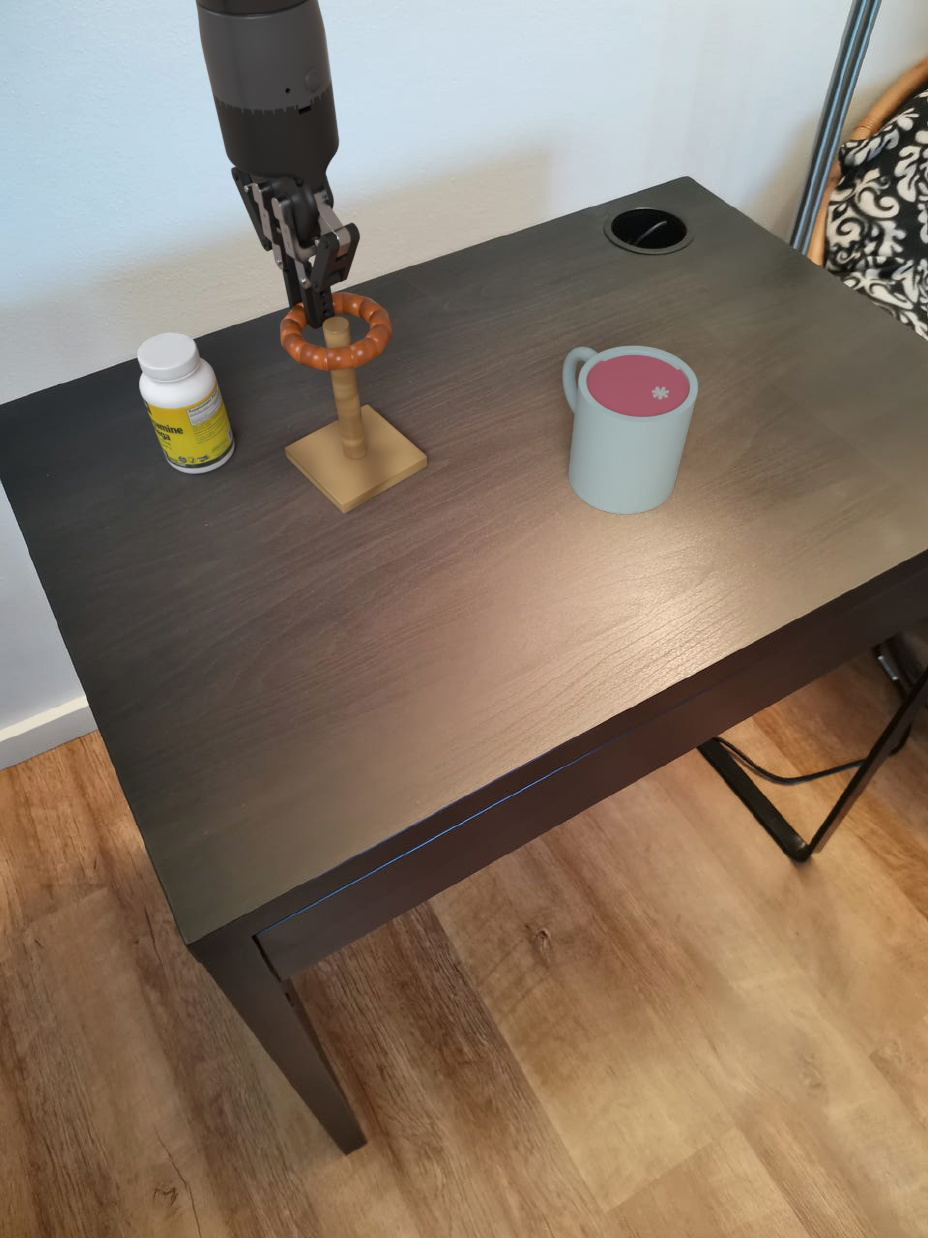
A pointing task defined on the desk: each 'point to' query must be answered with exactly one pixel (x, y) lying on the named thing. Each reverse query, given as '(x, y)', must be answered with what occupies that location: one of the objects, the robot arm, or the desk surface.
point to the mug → (627, 425)
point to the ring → (339, 355)
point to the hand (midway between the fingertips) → (313, 315)
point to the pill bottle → (184, 403)
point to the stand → (353, 442)
